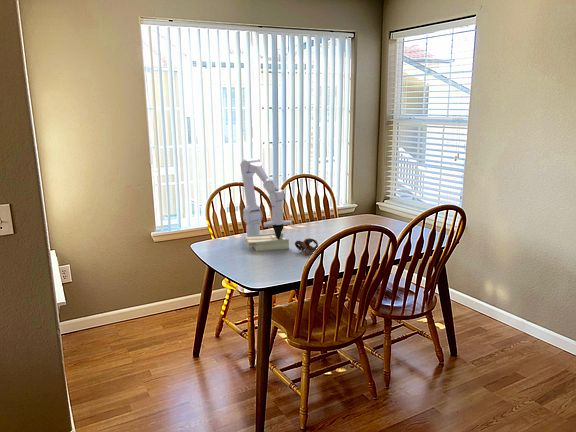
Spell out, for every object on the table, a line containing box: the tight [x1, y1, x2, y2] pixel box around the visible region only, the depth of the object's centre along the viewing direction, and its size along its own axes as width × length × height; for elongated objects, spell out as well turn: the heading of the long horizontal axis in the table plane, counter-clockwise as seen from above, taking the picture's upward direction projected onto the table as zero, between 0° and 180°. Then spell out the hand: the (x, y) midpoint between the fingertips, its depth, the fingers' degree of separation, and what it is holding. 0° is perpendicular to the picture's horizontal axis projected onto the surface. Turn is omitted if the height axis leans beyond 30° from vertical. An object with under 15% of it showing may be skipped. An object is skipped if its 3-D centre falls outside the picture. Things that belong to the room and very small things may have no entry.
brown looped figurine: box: [294, 238, 319, 256], centre depth 244 cm, size 12×10×8 cm
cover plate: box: [244, 235, 278, 247], centre depth 253 cm, size 11×15×2 cm
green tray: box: [252, 232, 290, 253], centre depth 254 cm, size 13×17×5 cm
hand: (277, 238), depth 255 cm, fingers closed
